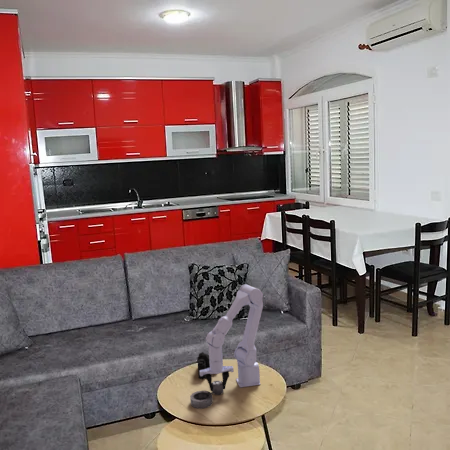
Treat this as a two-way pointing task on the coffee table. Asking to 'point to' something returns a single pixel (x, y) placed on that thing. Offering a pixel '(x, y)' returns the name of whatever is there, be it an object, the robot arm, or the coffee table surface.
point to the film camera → (202, 363)
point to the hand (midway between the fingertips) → (217, 389)
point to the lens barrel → (201, 399)
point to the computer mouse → (217, 387)
